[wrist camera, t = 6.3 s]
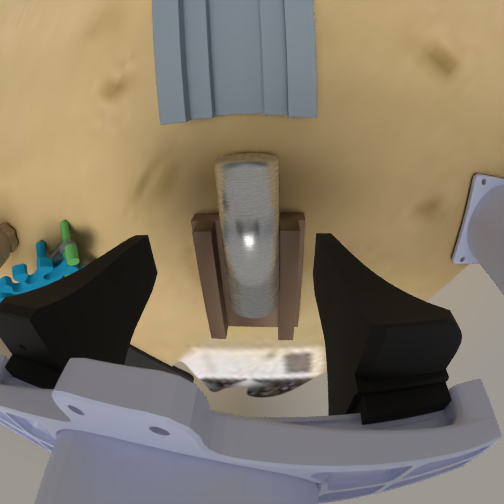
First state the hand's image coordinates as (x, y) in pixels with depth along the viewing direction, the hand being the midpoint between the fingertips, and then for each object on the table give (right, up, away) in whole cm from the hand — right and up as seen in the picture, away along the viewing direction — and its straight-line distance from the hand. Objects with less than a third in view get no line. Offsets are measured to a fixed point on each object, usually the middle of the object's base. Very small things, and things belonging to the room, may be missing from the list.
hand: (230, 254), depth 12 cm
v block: (0, +12, +2) cm, 12 cm away
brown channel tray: (+1, -1, +11) cm, 11 cm away
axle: (+1, +1, +6) cm, 6 cm away
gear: (-16, -1, +12) cm, 20 cm away
